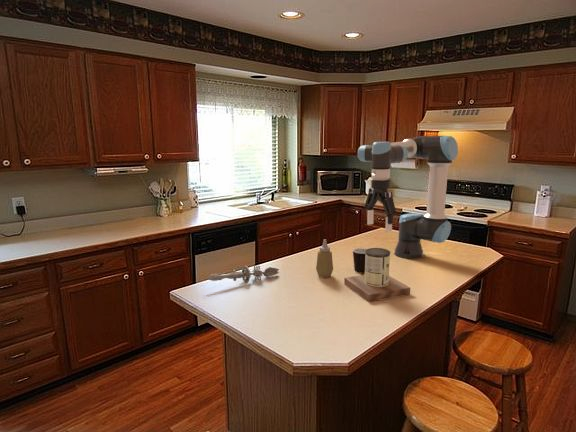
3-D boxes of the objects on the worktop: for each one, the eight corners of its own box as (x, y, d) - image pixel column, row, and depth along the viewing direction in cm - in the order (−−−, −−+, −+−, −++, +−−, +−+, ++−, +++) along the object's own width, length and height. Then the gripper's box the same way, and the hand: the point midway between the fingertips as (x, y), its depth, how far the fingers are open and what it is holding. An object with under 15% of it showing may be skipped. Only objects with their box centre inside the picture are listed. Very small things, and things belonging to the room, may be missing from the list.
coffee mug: (357, 266, 192) (358, 247, 190) (373, 269, 187) (373, 250, 185) (345, 272, 183) (346, 252, 181) (361, 276, 178) (362, 256, 176)
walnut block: (382, 278, 176) (382, 272, 175) (410, 294, 157) (410, 287, 157) (344, 284, 169) (344, 277, 168) (368, 301, 151) (368, 294, 150)
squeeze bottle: (320, 272, 184) (320, 236, 180) (335, 275, 180) (336, 238, 176) (312, 277, 177) (313, 240, 174) (328, 280, 173) (329, 242, 170)
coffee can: (365, 277, 169) (366, 246, 166) (388, 279, 166) (390, 248, 163) (363, 285, 159) (364, 253, 156) (388, 288, 156) (390, 255, 154)
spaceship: (204, 269, 166) (210, 267, 159) (273, 263, 184) (281, 261, 178) (205, 287, 164) (211, 286, 158) (275, 280, 183) (283, 278, 176)
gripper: (357, 176, 170) (356, 222, 174) (391, 183, 147) (389, 235, 152) (371, 175, 172) (370, 220, 177) (407, 181, 150) (404, 233, 154)
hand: (379, 227), depth 164 cm, fingers open, 13 cm apart
